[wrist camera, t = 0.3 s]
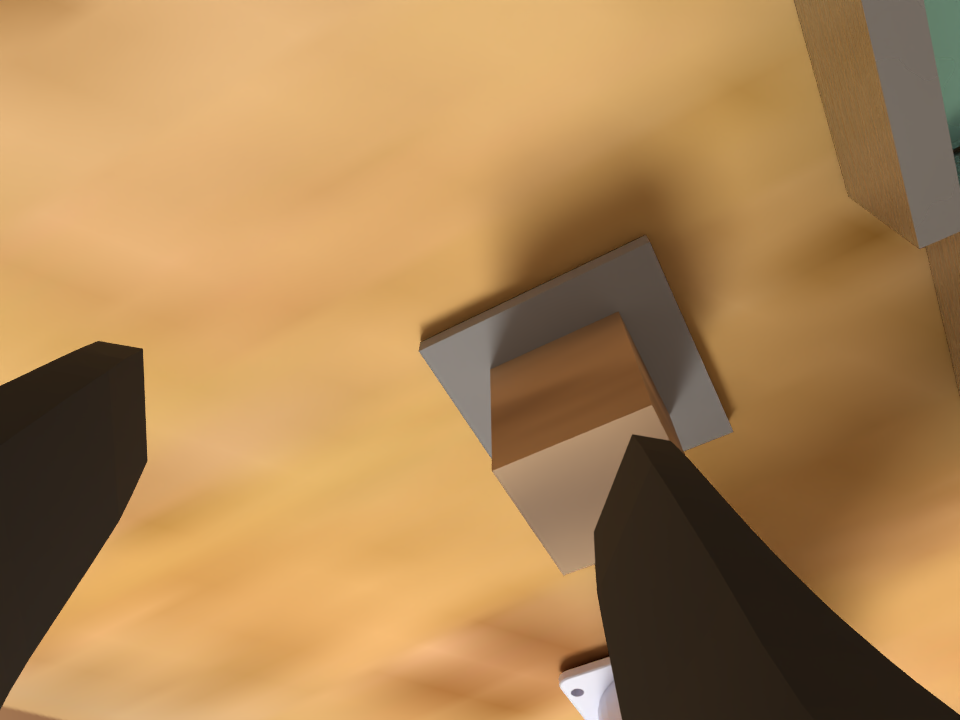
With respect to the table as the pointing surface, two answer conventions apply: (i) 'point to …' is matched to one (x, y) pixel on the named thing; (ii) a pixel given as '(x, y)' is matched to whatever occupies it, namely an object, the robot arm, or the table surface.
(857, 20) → the rail
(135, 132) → the table surface
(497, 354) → the rubber pad
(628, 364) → the walnut block
